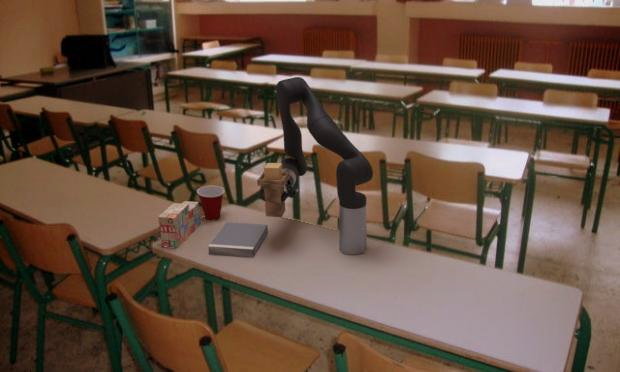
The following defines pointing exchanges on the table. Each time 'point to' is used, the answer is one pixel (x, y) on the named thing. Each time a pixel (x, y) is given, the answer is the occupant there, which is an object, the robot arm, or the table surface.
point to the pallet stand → (274, 194)
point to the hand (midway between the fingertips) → (273, 199)
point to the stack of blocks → (179, 223)
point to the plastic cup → (211, 201)
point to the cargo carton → (273, 171)
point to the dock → (238, 239)
